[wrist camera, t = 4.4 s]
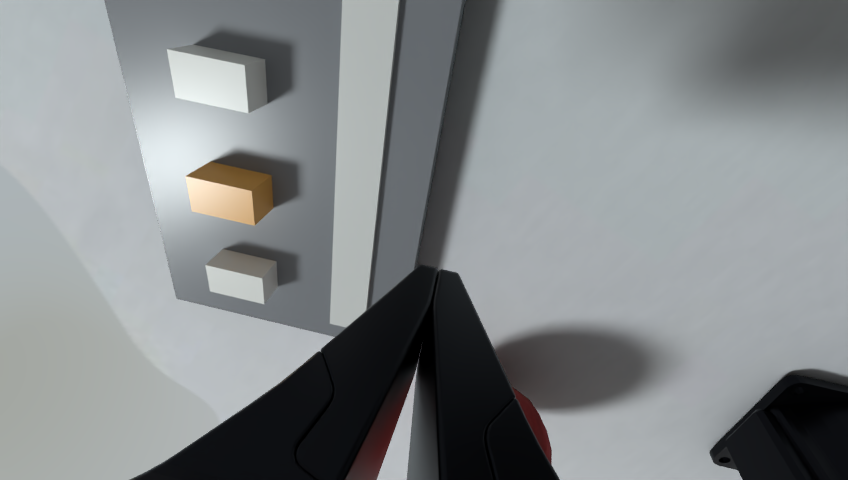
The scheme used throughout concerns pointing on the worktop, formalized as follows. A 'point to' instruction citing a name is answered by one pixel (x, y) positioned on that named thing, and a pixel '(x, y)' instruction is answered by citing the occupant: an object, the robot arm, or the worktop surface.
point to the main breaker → (230, 193)
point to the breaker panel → (291, 142)
